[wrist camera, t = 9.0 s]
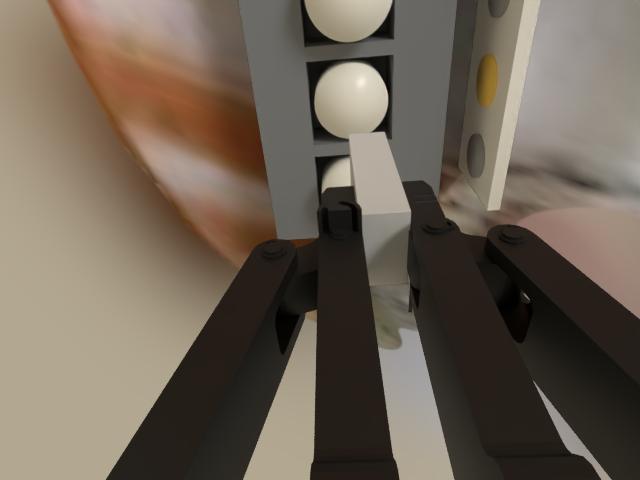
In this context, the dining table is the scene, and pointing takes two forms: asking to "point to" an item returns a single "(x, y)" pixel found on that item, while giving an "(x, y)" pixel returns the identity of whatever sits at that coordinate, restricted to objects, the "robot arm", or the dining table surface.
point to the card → (495, 93)
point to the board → (299, 94)
